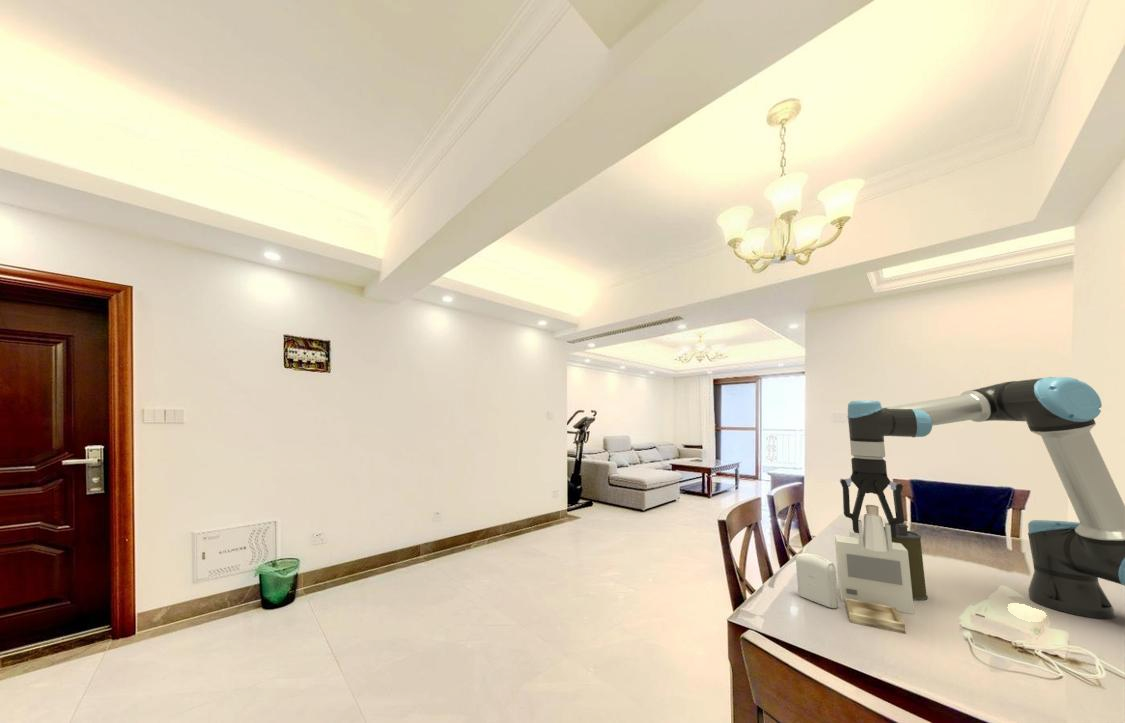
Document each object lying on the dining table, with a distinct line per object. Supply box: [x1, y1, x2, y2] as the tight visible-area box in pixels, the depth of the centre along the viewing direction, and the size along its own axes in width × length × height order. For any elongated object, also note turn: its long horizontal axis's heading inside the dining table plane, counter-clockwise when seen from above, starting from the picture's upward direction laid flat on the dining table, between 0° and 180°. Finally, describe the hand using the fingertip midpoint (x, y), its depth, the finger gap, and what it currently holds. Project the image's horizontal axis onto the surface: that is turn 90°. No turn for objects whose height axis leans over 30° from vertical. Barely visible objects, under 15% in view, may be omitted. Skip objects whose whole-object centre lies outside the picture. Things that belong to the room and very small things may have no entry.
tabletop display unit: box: [834, 534, 915, 615], centre depth 117 cm, size 16×9×16 cm, turn 61°
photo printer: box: [795, 552, 839, 609], centre depth 116 cm, size 10×4×12 cm, turn 26°
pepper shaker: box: [862, 504, 888, 552], centre depth 108 cm, size 5×5×11 cm
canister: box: [884, 523, 929, 601], centre depth 124 cm, size 11×10×20 cm
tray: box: [844, 598, 907, 635], centre depth 106 cm, size 11×11×2 cm
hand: (875, 548), depth 107 cm, fingers closed on pepper shaker, 5 cm apart
